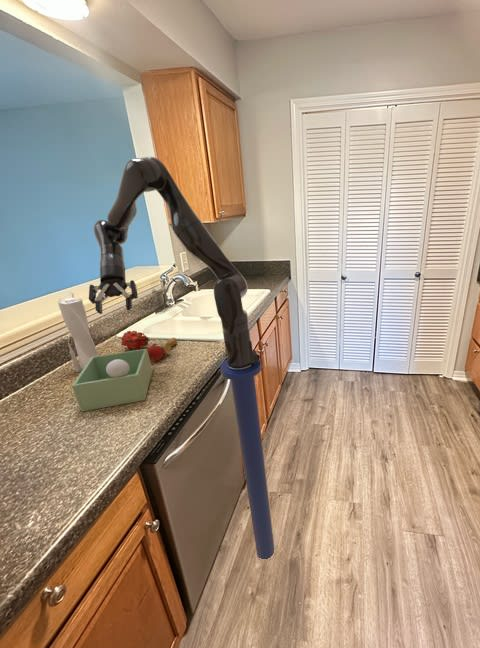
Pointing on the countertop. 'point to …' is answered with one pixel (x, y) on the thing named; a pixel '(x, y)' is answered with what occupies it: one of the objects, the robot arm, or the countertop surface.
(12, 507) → the countertop surface
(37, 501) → the countertop surface
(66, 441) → the countertop surface
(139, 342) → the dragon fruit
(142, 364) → the bin
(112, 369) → the lollipop
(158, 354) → the kendama
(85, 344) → the skyscraper
